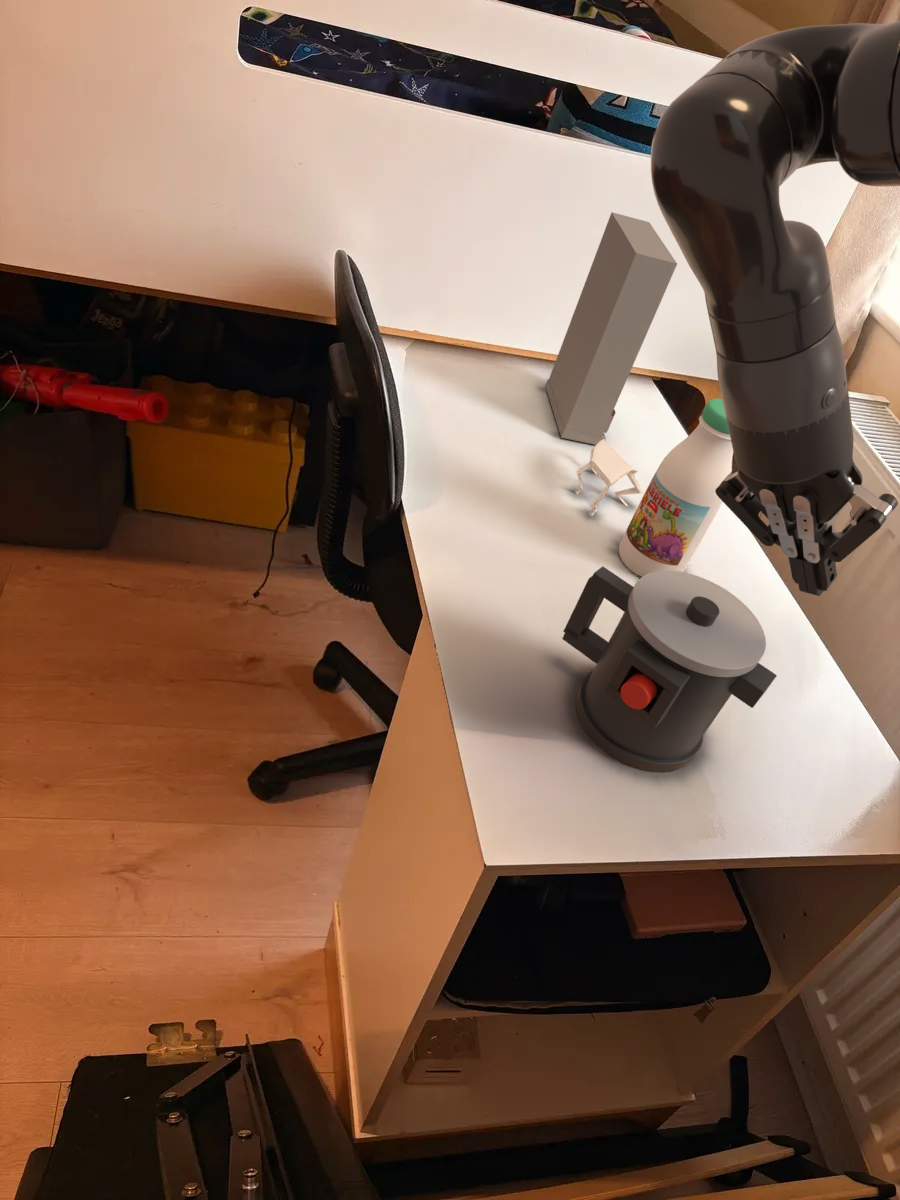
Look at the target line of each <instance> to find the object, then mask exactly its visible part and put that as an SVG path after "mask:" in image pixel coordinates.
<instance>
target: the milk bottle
mask: <svg viewBox="0 0 900 1200" xmlns="http://www.w3.org/2000/svg"><path fill="white" fill-rule="evenodd" d="M698 421H699V423H698V424H697V426H696V427H695V429H694V430H693V431H692V432H691V433H690V434H688V436H686V438H684V440H682V441H681V442H679V443H678V444H676V445H675V446H674V447H673V448H672V449H671V450H670V451H669V452H668V453H667V454H666V455H665V456H664V458H663V459H662V460H661V463H660V464H659V465H658V467H657V469H656V471H655V472H654V474H653V476H652V478H651V480H650V482H649V484H648V486H647V488H646V490H645V492H644V493H643V496H642V498H641V499H640V502H639V504H638V506H637V508H636V509H635V512H634V514H633V516H632V518H631V520H630V521H629V524H628V526H627V527H626V530H625V532H624V534H623V536H622V538H621V540H620V543H619V545H618V553H619V558H620V560H621V561H622V563H623V564H624V565H625V566H626V567H627V569H629V570H630V571H631V572H633V573H634V574H636V575H638V576H639V577H640V578H641V577H643V576H644V575H646V574H649V573H651V572H655V571H663V570H671V571H680V572H685V570H686V568H687V567H688V565H689V563H690V562H691V560H692V558H693V556H694V555H695V553H696V551H697V550H698V547H699V546H700V544H701V542H702V541H703V539H704V537H705V535H706V533H707V532H708V529H710V526H711V525H712V524H713V523H712V522H713V521H714V519H715V517H716V515H717V513H718V512H719V510H720V508H721V506H722V504H723V503H724V502H723V501H722V500H721V499H720V498H719V497H718V496H717V495H716V492H715V490H716V488H717V487H718V486H719V485H720V484H721V482H722V481H723V480H724V479H725V478H726V477H727V475H728V474H730V473H731V472H732V470H733V456H734V452H733V447H732V443H731V438H730V433H729V429H728V424H727V419H726V415H725V410H724V406H723V401H722V398H711V399H709V400H708V401H707V402H706V404H705V406H704V408H703V409H702V412H701V415H700V416H699V417H698Z"/></svg>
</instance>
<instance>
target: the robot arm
mask: <svg viewBox="0 0 900 1200" xmlns="http://www.w3.org/2000/svg"><path fill="white" fill-rule="evenodd" d="M653 132H654V133H653V136H652V142H651V148H650V149H651V150H650V176H651V185H652V188H653V189H652V190H653V194H654V197H655V199H656V203H657V206H658V208H659V210H660V212H661V215H662V217H663V218H664V220H665V222H666V224H667V226H668V228H669V230H670V232H671V234H672V236H673V237H674V239H675V242H676V243H677V245H678V247H679V249H680V250H681V252H682V255H683V256H684V259H685V260H686V262H687V265H688V267H689V268H690V270H691V271H692V273H693V274H694V276H695V278H696V279H697V281H698V283H699V285H700V286H701V288H702V290H703V293H704V298H705V299H704V300H705V305H706V310H707V315H708V319H709V324H710V329H711V334H712V339H713V343H714V348H715V355H716V371H717V381H718V387H719V391H720V396H721V399H722V401H723V406H724V410H725V415H726V419H727V424H728V429H729V433H730V438H731V443H732V447H733V456H734V457H733V458H734V461H735V463H736V464H735V465H736V466H737V467H735V468H732V472H731V473H730V474H728V475H727V477H726V478H725V479H724V480H723V481H722V482H721V484H720V485H719V486H718V487H717V488H716V490H715V492H716V495H717V496H718V497H719V498H720V499H721V500H722V501H723V502H722V503H723V504H724V505H725V506H726V507H727V509H729V510H730V512H732V513H733V514H734V515H735V517H736V518H738V519H739V521H740V522H741V523H742V524H743V525H744V526H745V527H746V528H747V529H748V530H749V532H751V533H752V534H753V535H754V536H755V538H756V539H758V540H759V542H760V543H761V544H762V545H764V546H766V547H772V546H774V545H776V546H778V547H780V548H781V552H782V553H783V554H784V555H785V557H788V562H789V566H790V572H791V578H792V580H793V581H794V583H795V584H796V585H798V590H799V591H800V592H801V593H805V594H809V595H813V596H817V597H820V596H821V595H822V594H823V593H824V592H828V589H830V587H831V586H832V584H833V583H834V582H835V580H836V578H837V576H838V571H837V564H836V563H840V562H842V561H843V560H844V559H846V558H847V557H848V556H849V555H851V554H852V553H853V552H854V551H855V550H856V549H857V548H859V547H860V546H861V545H862V544H863V543H865V542H866V541H867V540H868V539H870V537H872V536H873V535H874V534H875V533H877V532H878V531H879V530H880V529H881V527H883V525H884V523H885V522H886V521H887V520H888V518H889V517H890V516H891V514H892V513H893V512H894V510H895V509H896V508H897V506H898V504H899V501H898V499H897V498H896V497H895V495H892V494H890V493H881V495H880V496H879V497H878V496H876V495H875V494H874V493H872V492H871V491H870V490H869V489H867V488H866V487H865V486H863V485H862V484H863V475H862V473H861V471H860V470H859V468H858V467H857V465H856V464H855V462H854V459H853V456H854V455H853V453H854V443H855V442H854V431H853V430H854V429H853V422H852V421H853V420H852V412H851V411H852V410H851V404H850V403H851V402H850V393H849V385H848V376H847V367H846V359H845V351H844V346H843V343H842V339H841V337H840V333H839V329H838V326H837V325H838V324H837V320H836V312H835V303H834V296H833V288H832V287H833V286H832V278H831V271H830V265H829V260H828V253H827V249H826V245H825V243H824V240H823V239H822V236H821V235H820V234H819V232H818V231H817V230H816V229H815V228H813V226H810V224H809V225H808V224H807V223H804V222H801V221H797V220H786V219H784V216H783V212H782V209H781V204H780V202H781V201H780V187H781V186H782V185H783V184H784V183H785V182H786V181H787V180H788V179H789V178H790V177H791V176H792V175H794V173H795V172H796V171H797V170H799V169H802V168H806V167H808V166H812V165H816V164H817V165H818V164H821V163H831V162H832V163H833V162H838V163H839V166H840V167H841V169H842V171H844V173H845V174H846V175H847V176H848V177H849V178H850V179H852V180H853V181H854V182H857V183H859V184H862V185H864V186H869V187H879V188H880V187H900V20H897V21H894V22H890V23H863V22H857V23H855V22H854V23H838V24H819V25H808V26H801V27H794V28H788V29H784V30H781V31H776V32H773V33H770V34H766V35H763V36H761V37H758V38H756V39H753V40H751V41H749V42H746V43H745V44H742V45H741V46H739V47H737V48H736V49H734V50H733V51H730V53H729V54H727V55H726V56H724V57H723V58H722V59H721V60H720V61H719V62H717V64H715V65H714V66H713V67H712V68H711V69H709V70H708V71H707V72H706V73H705V74H704V75H702V76H701V77H700V78H699V79H697V80H696V81H695V82H694V83H693V84H691V85H690V86H689V87H688V88H687V89H685V90H684V91H683V92H682V93H681V94H679V95H678V96H677V97H676V98H675V99H674V100H673V101H671V103H670V104H669V105H668V106H667V108H666V109H665V110H664V111H663V113H662V115H661V116H660V118H659V119H658V122H657V124H656V127H655V130H654V131H653ZM848 503H849V504H850V506H851V510H850V511H849V516H850V520H849V524H847V526H845V527H844V528H843V529H842V531H836V521H837V517H838V515H839V512H840V511H841V510H842V509H843V508H844V507H845V506H846V505H847V504H848ZM760 513H762V514H763V516H764V517H766V518H767V520H768V523H769V524H766V522H764V521H763V520H762V518H761V517H760V516H759V515H760Z"/></svg>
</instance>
